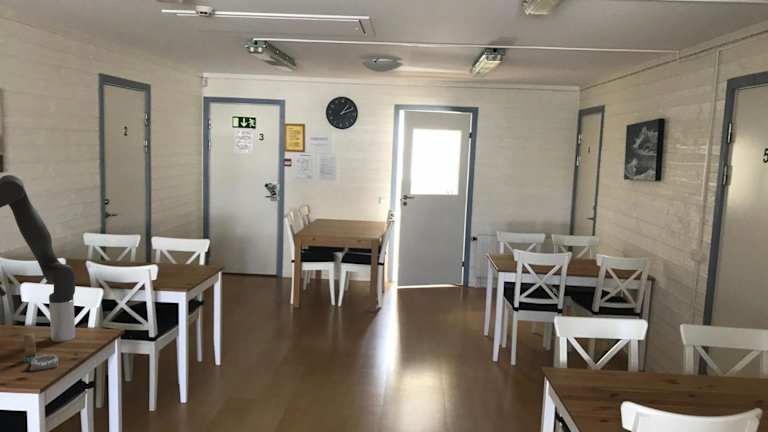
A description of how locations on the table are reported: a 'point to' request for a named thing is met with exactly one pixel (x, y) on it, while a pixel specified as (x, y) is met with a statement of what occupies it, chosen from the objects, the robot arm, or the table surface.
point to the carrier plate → (44, 362)
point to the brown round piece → (29, 348)
